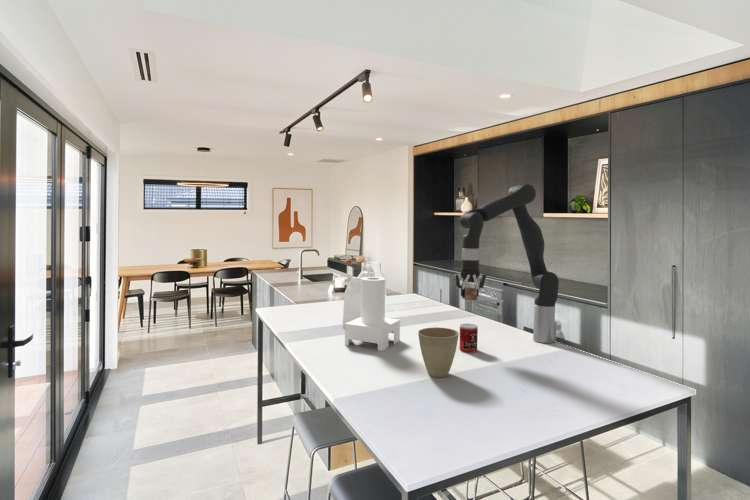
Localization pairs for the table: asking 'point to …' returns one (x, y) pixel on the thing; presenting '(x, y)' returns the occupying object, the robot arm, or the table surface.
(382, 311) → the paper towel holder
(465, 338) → the canned food
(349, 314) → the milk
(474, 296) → the walnut cube
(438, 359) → the plant pot
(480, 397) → the table surface
